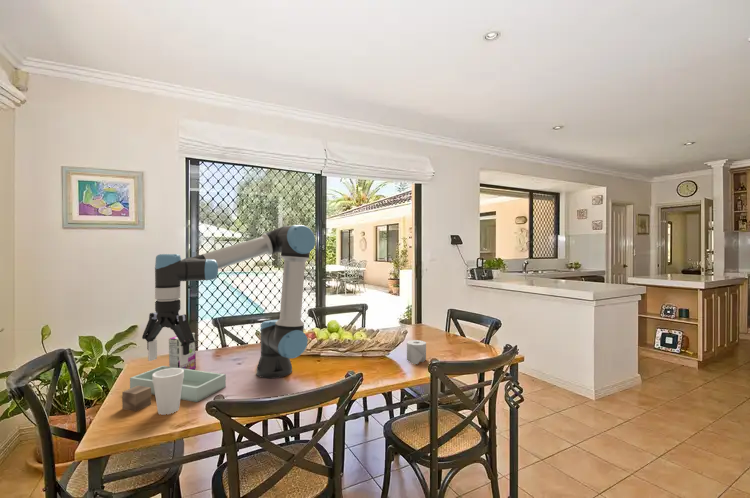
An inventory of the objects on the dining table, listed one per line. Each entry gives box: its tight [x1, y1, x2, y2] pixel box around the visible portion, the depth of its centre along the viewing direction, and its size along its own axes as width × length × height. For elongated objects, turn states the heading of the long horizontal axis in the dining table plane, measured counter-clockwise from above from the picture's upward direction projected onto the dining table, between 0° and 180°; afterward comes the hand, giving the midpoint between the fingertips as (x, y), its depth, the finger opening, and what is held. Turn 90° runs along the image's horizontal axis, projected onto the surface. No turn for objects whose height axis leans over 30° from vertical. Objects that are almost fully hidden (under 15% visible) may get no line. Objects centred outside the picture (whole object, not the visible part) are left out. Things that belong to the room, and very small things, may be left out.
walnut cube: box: [121, 386, 152, 412], centre depth 131 cm, size 6×6×6 cm
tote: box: [129, 365, 227, 403], centre depth 147 cm, size 32×15×5 cm, turn 72°
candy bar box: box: [168, 332, 197, 370], centre depth 165 cm, size 11×5×16 cm, turn 168°
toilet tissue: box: [406, 339, 427, 365], centre depth 182 cm, size 9×13×9 cm
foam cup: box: [153, 368, 184, 416], centre depth 128 cm, size 10×9×13 cm
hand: (168, 362), depth 127 cm, fingers open, 13 cm apart
